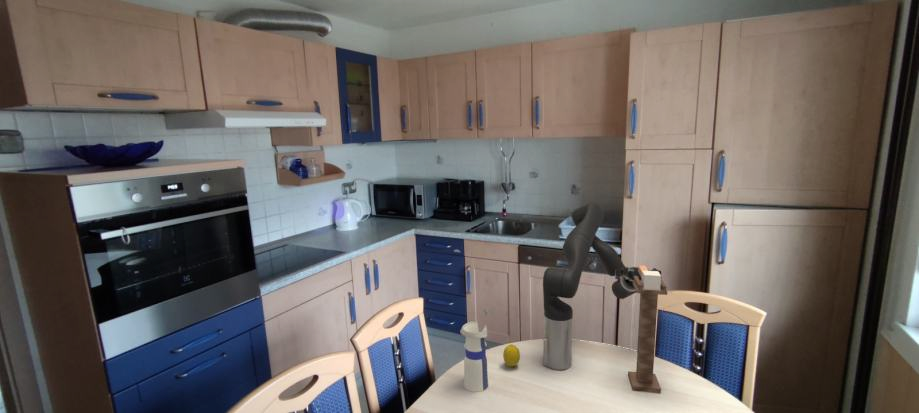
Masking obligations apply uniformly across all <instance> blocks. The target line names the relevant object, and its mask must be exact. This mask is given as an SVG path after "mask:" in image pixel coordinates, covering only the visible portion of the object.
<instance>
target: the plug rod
mask: <svg viewBox="0 0 919 413" xmlns="http://www.w3.org/2000/svg"><path fill="white" fill-rule="evenodd" d="M637 267H638V272H639V274H640V276H641V284H642V287H643V289H644V290H659V291H660V286H661V279H662V278H661V277H662V274H661V275H660V274H659V272H658V271H659V270H658V271H648V270H649V269H648V268H647V267H646V265H644V264H643V265H640V264H639V265H637Z"/></svg>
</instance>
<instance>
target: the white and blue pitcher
mask: <svg viewBox="0 0 919 413" xmlns="http://www.w3.org/2000/svg"><path fill="white" fill-rule="evenodd" d="M482 311H483V316H486V318H489V313H490V311H488V310H487V307H486V306H484V308H482ZM460 334H461V335H462V337H463V336H464V337H465V343H463V347H464V349H465V356H464V359H463V365H464V366H463V370H464V372H463V387H464V388H465V390H467V391H469V392H473V393H481V392H483V391H486V390H487V388H489V375H488V374H489V372H488V358H487V354H486V353H487V352H486V350H487V342H486V340H485V338H487V337H488V327H487V324H485V325H484V327H483V330H482V331H479V324H478V322H476V321H468V322H467V323H465V324H463V325H462V327H461V329H460Z"/></svg>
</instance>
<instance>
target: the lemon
mask: <svg viewBox="0 0 919 413" xmlns="http://www.w3.org/2000/svg"><path fill="white" fill-rule="evenodd" d="M502 355H503V356H502V357H503V361H504V363H505V364H506V365H507V366H510V367H511V368H512V367H515V366H516V365H518V363H519V362H520V361H521V352H520V349H519V348H518V347H517V346H516V345H515V344H508V345H507V346H506V347H505V348H504V350H503V354H502Z"/></svg>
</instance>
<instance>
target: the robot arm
mask: <svg viewBox="0 0 919 413" xmlns="http://www.w3.org/2000/svg"><path fill="white" fill-rule="evenodd" d="M603 210H604V209H603V208H602V206H601V205H600V204H599V203H597V202H593V201H592V202H588V203H586V204H584V205H582V206H579V207H578V208H576V209H574V210H573V211H572V213H571V219H572V221H573V224H574V225H575V227H574V228H573V229H572V230H571V231H570V232H568V234H567V236H566V238H565V240H564V242H563V244H562V253H563V256H564V258H565V260H566V261H567V264H569V267H570V268H569V269H568V268H559V267H547V268H546V269H544V273H543V277H542V291H543V292H542V294H543V312H544V313H543V355H542V356H543V358H542V359H543V360H542V361H543V367H547V368H549V369H553V370H557V371H563V370H567V369H569V368H571V367H572V363H573V362H572V361H573V360H572V359H573V357H572V356H573V355H572V354H573V352H572V351H573V322H574V321H573V318H574V317H573V314H574V313H573V312H574V311H573V308H572V306H571V305H570V304H568V303H566V302H565V301H563V300H561V299H560V298H562V299H573V298H574V297H575V296H576V295H577V291H578V289H579V286H580V282H581V278H582V273H583V270H584V266H585V265H586V260H587V258H588V256H589V253H590V252H591V251H590V250H591V248H592V249H593V251H594V252H595V254H596V255H597V257H598V258H599V260H600V262H601V263H602V266H603V267H604V269H605V271H606V273H607V274H608V276H610V277H614V279H615V280H616V281H614V282H613V283H612V285H611V291H612V294H613V295H614V296H615V297H616V298H618V299H620V300H624V299H626V298H628V297H630V296H632V295H634V294H637V292H636V290H635V287H634V285H633V280H634V276H638V278H639V280H640V281H641V276H640V274H639V272H638V266H637V267H636V266H631V267H628V266H625V265H624V263H623V260H622V259H621V257H620V255H619V254H618V252H617V251H616V250H615V249H614V247H612V246H611V245H610V244H609V243H606V241H603V240H602V239H601V238H600V237H598V236H597V235H596V234H597V232H598V230H599V229H600V226H601V225H602V224H603V221H604V211H603ZM647 270H648V271H658V272H659V274H660V275H661V279H663V277H662V270H660V269H657V268H656V267H653V268H652V269H647Z"/></svg>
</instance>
